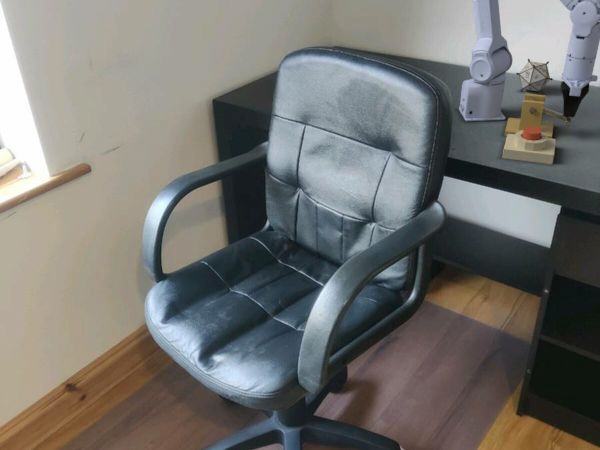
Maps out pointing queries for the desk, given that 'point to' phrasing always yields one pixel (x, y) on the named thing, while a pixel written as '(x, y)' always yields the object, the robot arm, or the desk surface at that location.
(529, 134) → the button
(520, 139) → the control block
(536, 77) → the game die
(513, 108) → the desk surface
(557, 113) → the lever
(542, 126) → the bracket
